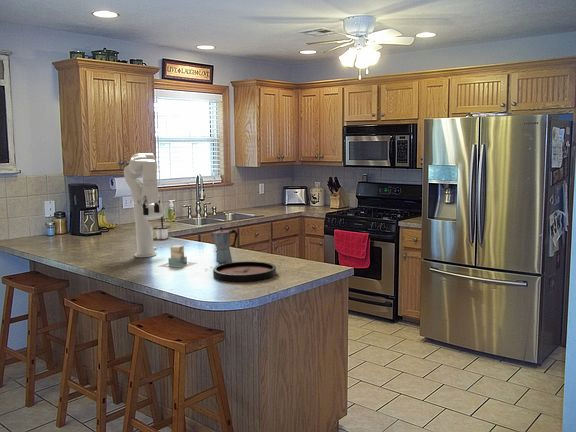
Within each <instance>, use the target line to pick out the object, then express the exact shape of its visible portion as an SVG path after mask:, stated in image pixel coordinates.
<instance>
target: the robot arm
mask: <svg viewBox="0 0 576 432" xmlns="http://www.w3.org/2000/svg"><path fill="white" fill-rule="evenodd" d="M157 169H158V164H157V159H156V157H155V155H154V154H153V153H152V152H151V153H150V152H149V153H146V152H145V153H143V152H142V153H135V154H133V155H131V156H130V160H129V163H128V165H127V166H125V167H124V168H123V177H124V179H125V182H126V184H127V185H128V188H129V189H130V192H131V196H132V200H133V203H134V205H133V207H132V211H133V216H134V221H135V222H134V225H135V237H136V238H135V239H136V252H135V253H134V257H136V258H150V257H155V256H156V255H157V252H155V251H158V247H157V246H154V238H153V237H154V235H153V234H154V233H153V226H152V224H151V222H150V221H148V220H151V219H159V218H160V219H161V217H162V216H164V214H165V213H164V210H165V209H164V205H163V202H162V197H161V195H160V193H159V188H158V187H159V186H158V175H157V174H158V173H157ZM139 179H142V181H141V180H139Z"/></svg>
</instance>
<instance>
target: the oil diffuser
mask: <svg viewBox="0 0 576 432" xmlns="http://www.w3.org/2000/svg"><path fill="white" fill-rule="evenodd" d="M163 216H164V215H163ZM163 216H162V217H160V222H161V225H156V226H155V227H152V230H156V240H166V239H168V237H169V234H168V233H169V232H168V229H169V228H171V225H164V221H163V220H164V218H163Z"/></svg>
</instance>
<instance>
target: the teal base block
mask: <svg viewBox="0 0 576 432" xmlns="http://www.w3.org/2000/svg"><path fill="white" fill-rule="evenodd" d="M187 262H188V258H187V256H185V255H184V257H182V258H171V257H168V263H169V266H182V265H185V264H187Z"/></svg>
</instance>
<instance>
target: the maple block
mask: <svg viewBox="0 0 576 432" xmlns="http://www.w3.org/2000/svg"><path fill="white" fill-rule="evenodd" d="M184 250H185V249H184V245H173V246H172V245H171V246H170V258H182V257H184V256H185V251H184Z"/></svg>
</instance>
